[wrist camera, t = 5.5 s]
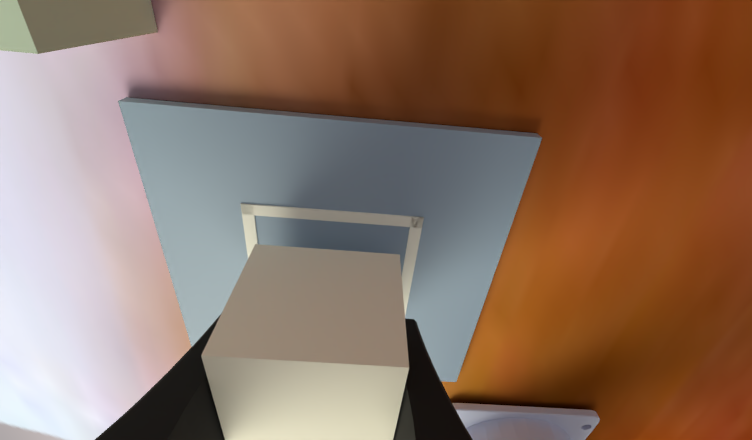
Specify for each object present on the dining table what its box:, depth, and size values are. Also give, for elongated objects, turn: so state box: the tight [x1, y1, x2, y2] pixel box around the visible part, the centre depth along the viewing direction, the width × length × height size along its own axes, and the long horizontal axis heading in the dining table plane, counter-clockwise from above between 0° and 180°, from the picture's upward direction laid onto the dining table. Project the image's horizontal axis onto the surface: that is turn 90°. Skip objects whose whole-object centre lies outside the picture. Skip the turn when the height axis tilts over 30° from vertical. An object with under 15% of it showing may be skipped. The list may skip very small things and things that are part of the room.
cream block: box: [201, 244, 409, 440], centre depth 11 cm, size 4×4×4 cm
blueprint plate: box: [118, 97, 542, 382], centre depth 13 cm, size 12×12×1 cm
